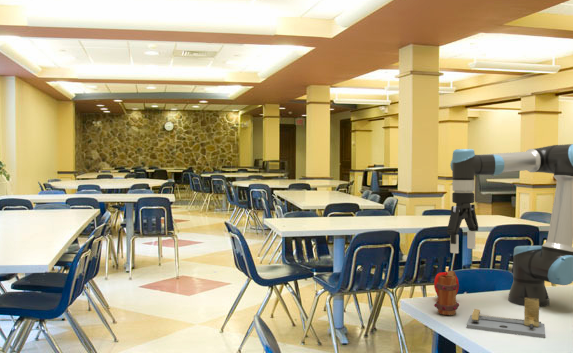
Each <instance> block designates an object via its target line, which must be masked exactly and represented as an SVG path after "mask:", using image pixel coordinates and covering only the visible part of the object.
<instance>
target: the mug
mask: <svg viewBox="0 0 573 353" xmlns="http://www.w3.org/2000/svg"><path fill="white" fill-rule="evenodd" d="M447 272H448V274H447V275H441V276H440V275H439V276H438V282H437V284H436V285H435V287H436V288H438V295H437V301H436V302H435V303H434V305H433V306H434V308H436V309H437V313H438V314H440V315H443V316H454V315H456V313H457V309H459V308H458V307H460V303H458V302H457V295H456V289H457V288H458V286H459V287H460V284H459V285H458V284H457V283H456V276H457V275H456V272H455V271H454V270H448V271H447Z"/></svg>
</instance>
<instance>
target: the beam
mask: <svg viewBox="0 0 573 353" xmlns="http://www.w3.org/2000/svg"><path fill="white" fill-rule="evenodd" d="M471 315H472V319H473V320H474V323H477V320H478V319H479V318H480V319H489V320H497V321H506V322H514V323H522V324H524V319H521V318H520V319H519V318H511V317H503V316H494V315H493V316H492V315H488V314H487V315H485V314H481V310H480V309H477V308H474V309H473V311H472V313H471ZM541 323H542V321H539V327H541Z"/></svg>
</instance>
